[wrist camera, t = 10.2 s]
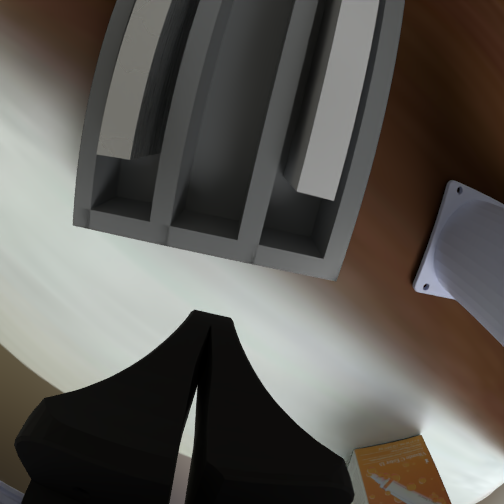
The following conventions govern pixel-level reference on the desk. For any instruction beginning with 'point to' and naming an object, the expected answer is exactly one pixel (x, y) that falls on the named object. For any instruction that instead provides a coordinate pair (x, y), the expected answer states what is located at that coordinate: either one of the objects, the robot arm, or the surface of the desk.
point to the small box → (396, 474)
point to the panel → (145, 78)
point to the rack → (252, 134)
